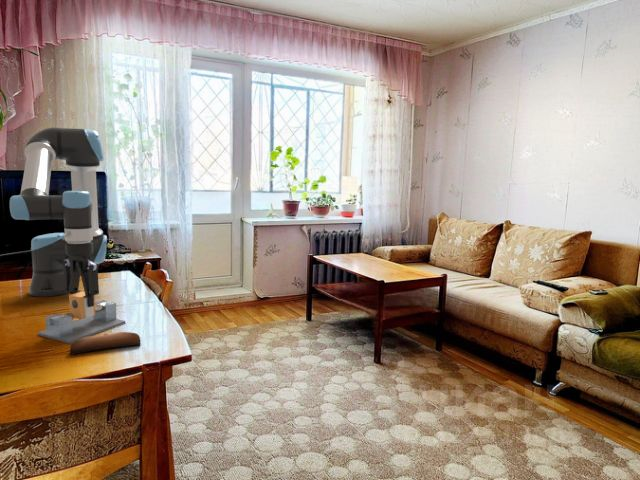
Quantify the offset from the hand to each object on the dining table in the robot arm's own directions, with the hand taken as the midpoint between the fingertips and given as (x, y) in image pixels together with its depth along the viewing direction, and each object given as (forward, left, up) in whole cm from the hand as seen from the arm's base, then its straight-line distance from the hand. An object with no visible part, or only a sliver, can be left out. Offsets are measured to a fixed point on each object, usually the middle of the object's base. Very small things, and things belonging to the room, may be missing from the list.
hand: (82, 314), depth 142 cm
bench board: (0, 0, -5) cm, 5 cm away
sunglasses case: (+17, -6, -5) cm, 19 cm away
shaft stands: (0, 0, -5) cm, 5 cm away
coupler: (0, 0, 0) cm, 0 cm away
